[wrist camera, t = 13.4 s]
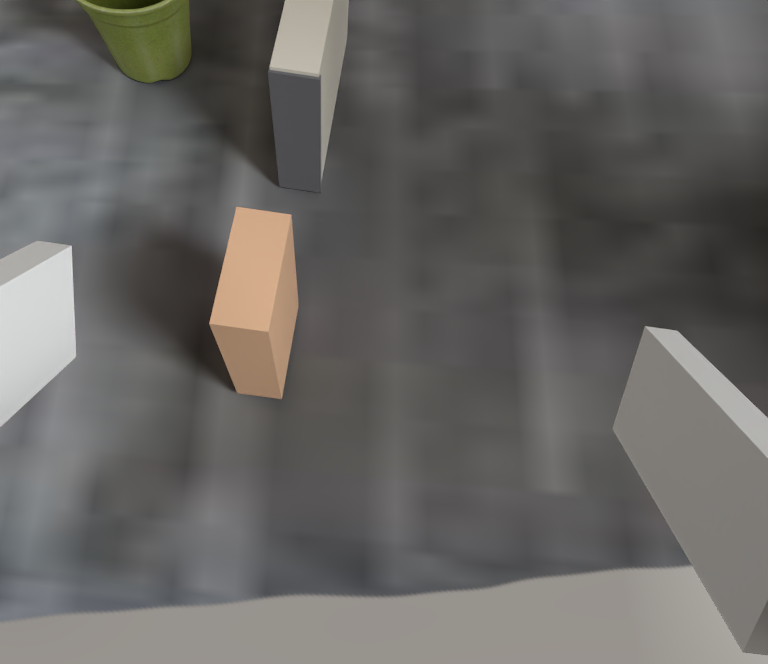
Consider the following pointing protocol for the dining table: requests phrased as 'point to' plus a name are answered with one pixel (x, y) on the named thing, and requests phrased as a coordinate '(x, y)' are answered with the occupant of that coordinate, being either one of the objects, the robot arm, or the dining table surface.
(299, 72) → the block
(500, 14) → the dining table surface
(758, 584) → the robot arm
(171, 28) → the plant pot
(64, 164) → the dining table surface
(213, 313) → the tan rectangular block
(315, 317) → the dining table surface
